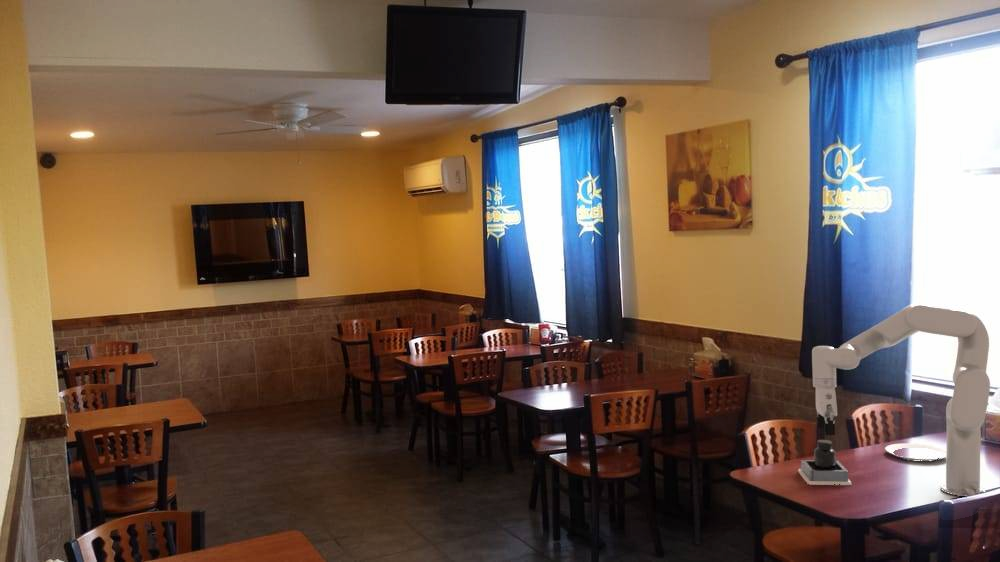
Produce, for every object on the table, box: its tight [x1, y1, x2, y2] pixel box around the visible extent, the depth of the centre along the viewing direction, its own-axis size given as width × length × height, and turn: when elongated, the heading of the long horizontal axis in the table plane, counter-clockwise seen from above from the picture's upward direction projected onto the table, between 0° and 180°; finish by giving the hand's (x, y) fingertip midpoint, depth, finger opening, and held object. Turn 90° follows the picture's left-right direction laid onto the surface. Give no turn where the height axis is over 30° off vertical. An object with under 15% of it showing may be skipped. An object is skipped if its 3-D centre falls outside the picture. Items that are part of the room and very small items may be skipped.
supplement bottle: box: [813, 439, 836, 470], centre depth 278 cm, size 7×7×12 cm
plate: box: [884, 442, 946, 461], centre depth 301 cm, size 21×21×2 cm
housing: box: [797, 459, 852, 486], centre depth 279 cm, size 14×14×4 cm
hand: (826, 431), depth 277 cm, fingers open, 9 cm apart
